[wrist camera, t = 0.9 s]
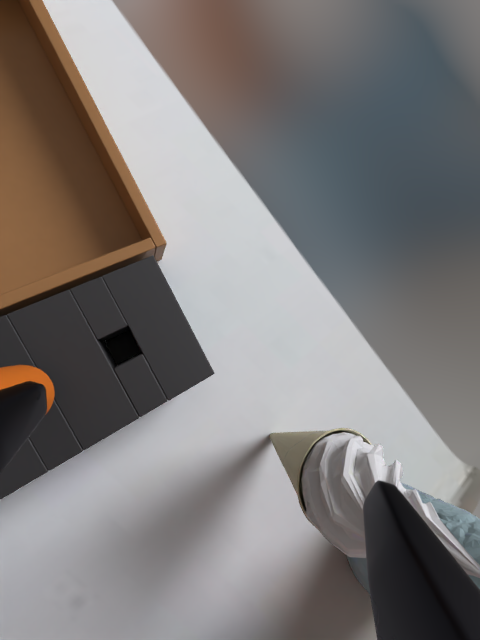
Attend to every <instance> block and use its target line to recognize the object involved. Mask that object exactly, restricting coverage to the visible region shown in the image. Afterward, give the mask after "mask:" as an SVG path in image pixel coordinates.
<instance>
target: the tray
mask: <svg viewBox="0 0 480 640" xmlns="http://www.w3.org/2000/svg"><path fill="white" fill-rule="evenodd" d="M165 246H166V241H165V239H164V237H163V235H162V233H161V231H160V229H159V227H158V225H157V223H156V221H155V219H154V217H153V216H152V214H151V212H150V210H149V208H148V206H147V204H146V202H145V200H144V198H143V196H142V194H141V192H140V190H139V188H138V186H137V184H136V182H135V180H134V178H133V176H132V175H131V173H130V171H129V169H128V167H127V165H126V163H125V161H124V159H123V157H122V155H121V153H120V151H119V149H118V147H117V145H116V143H115V141H114V139H113V137H112V136H111V134H110V132H109V130H108V128H107V126H106V124H105V122H104V120H103V118H102V116H101V114H100V112H99V110H98V108H97V106H96V104H95V102H94V100H93V98H92V97H91V95H90V93H89V91H88V89H87V87H86V85H85V83H84V81H83V79H82V77H81V75H80V73H79V71H78V69H77V67H76V65H75V63H74V61H73V59H72V58H71V56H70V54H69V52H68V50H67V48H66V46H65V44H64V42H63V40H62V38H61V36H60V34H59V32H58V30H57V28H56V26H55V24H54V22H53V20H52V19H51V17H50V15H49V13H48V11H47V9H46V7H45V5H44V3H43V1H42V0H0V317H1V316H4V315H7V314H9V313H11V312H14V311H16V310H19V309H21V308H24V307H26V306H29V305H31V304H34V303H36V302H39V301H41V300H44V299H46V298H49V297H51V296H53V295H56V294H58V293H61V292H63V291H66V290H70V289H71V288H73V287H76V286H78V285H81V284H83V283H86V282H88V281H91V280H93V279H96V278H98V277H102V276H103V275H105V274H108V273H110V272H113V271H115V270H118V269H120V268H123V267H125V266H128V265H130V264H133V263H135V262H138V261H140V260H142V259H145V258H147V257H150V256H152V255H153V256H154V258H155V259H156V261H159V260H161V259H162V256H163V253H164V250H165Z"/></svg>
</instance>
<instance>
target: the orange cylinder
mask: <svg viewBox="0 0 480 640" xmlns="http://www.w3.org/2000/svg"><path fill="white" fill-rule="evenodd" d="M27 381H32V382H36V383H40V384H43V385H44V386H45V388H46V396H47V412H48V411H49V410H50V408H51V406H52V404H53V401H54V396H55V391H54V386H53V383H52V381H51V379H50V378H49V376H48V375H47V374H46V373H44V372H43V371H42V370H40V369H38V368H36V367H33V366H28V365H15V366H7V367H0V390H1V389H4V388H8V387H11V386H14V385H17V384H20V383H23V382H27ZM47 412H46V414H47ZM46 414H45V415H46Z"/></svg>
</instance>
